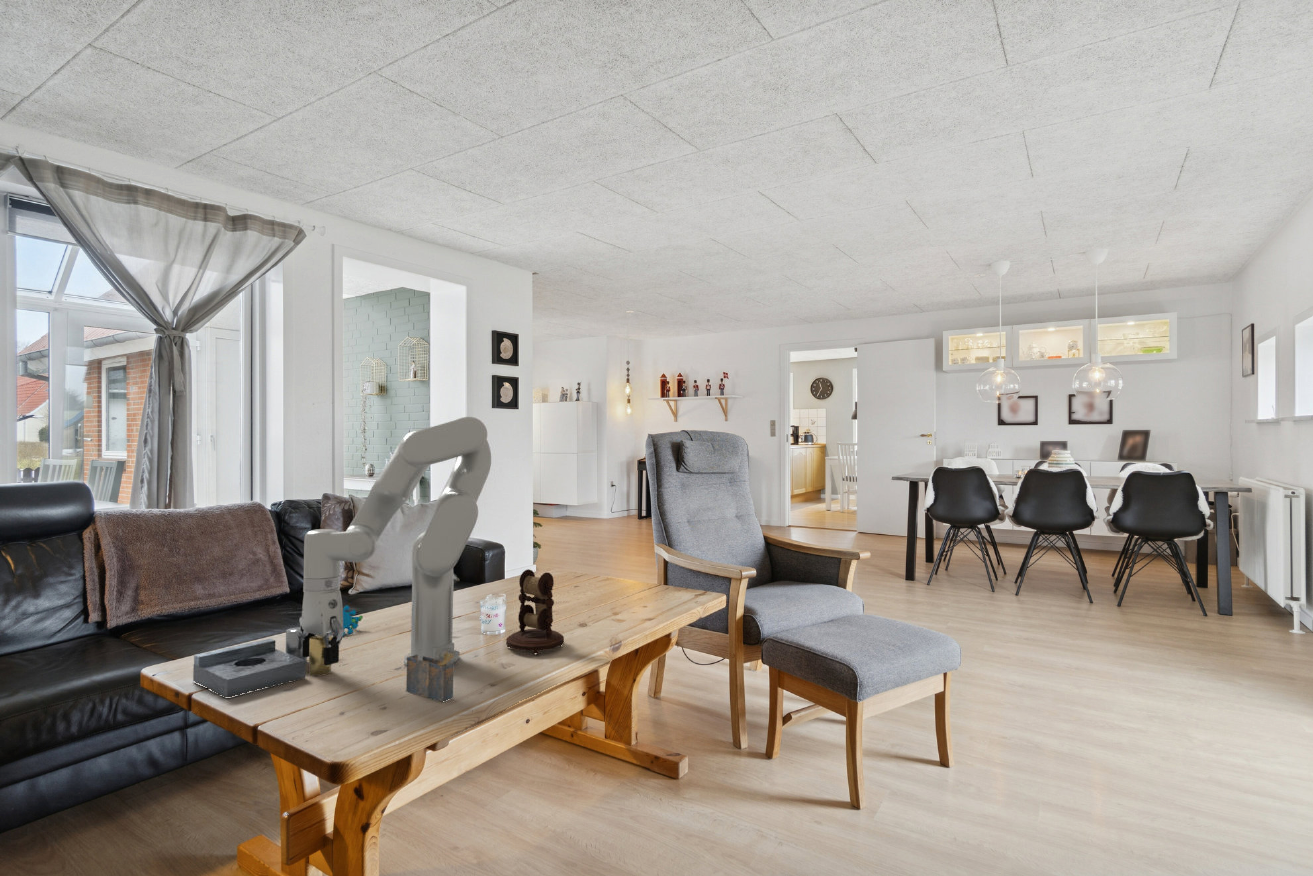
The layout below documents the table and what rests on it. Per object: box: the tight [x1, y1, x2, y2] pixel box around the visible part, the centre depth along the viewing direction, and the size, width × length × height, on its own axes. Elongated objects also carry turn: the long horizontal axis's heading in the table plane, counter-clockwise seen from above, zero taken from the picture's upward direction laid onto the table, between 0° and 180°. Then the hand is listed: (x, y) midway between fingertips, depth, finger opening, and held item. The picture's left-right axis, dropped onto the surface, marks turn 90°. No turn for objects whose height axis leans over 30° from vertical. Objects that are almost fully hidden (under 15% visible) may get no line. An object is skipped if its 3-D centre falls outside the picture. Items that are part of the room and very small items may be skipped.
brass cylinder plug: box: [308, 635, 333, 676], centre depth 157 cm, size 5×5×8 cm
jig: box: [192, 638, 306, 697], centre depth 151 cm, size 16×16×6 cm
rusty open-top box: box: [405, 651, 455, 703], centre depth 144 cm, size 11×3×10 cm, turn 59°
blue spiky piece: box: [342, 604, 364, 637], centre depth 189 cm, size 11×6×10 cm
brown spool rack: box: [505, 569, 565, 654], centre depth 178 cm, size 15×15×20 cm
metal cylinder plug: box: [285, 626, 308, 665], centre depth 163 cm, size 5×5×8 cm
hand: (320, 659), depth 157 cm, fingers open, 8 cm apart
